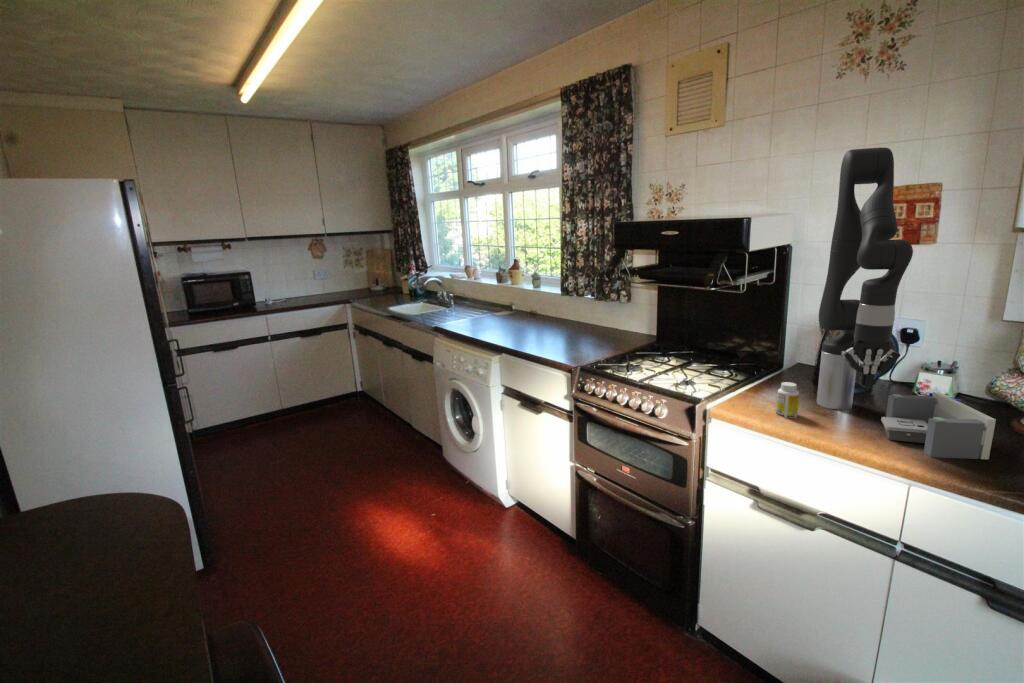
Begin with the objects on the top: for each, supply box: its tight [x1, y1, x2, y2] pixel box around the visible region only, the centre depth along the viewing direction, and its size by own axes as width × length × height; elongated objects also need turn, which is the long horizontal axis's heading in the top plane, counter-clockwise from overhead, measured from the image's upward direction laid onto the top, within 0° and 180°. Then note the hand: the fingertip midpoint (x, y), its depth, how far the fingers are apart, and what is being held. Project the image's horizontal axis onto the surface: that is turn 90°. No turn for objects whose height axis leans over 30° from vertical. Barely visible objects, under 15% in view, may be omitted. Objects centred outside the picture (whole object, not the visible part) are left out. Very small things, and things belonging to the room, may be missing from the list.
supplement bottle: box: [775, 381, 800, 419], centre depth 142 cm, size 6×6×10 cm
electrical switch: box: [880, 416, 928, 444], centre depth 125 cm, size 9×5×9 cm
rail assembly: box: [885, 391, 997, 460], centre depth 122 cm, size 20×12×10 cm, turn 169°
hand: (865, 386), depth 123 cm, fingers closed
